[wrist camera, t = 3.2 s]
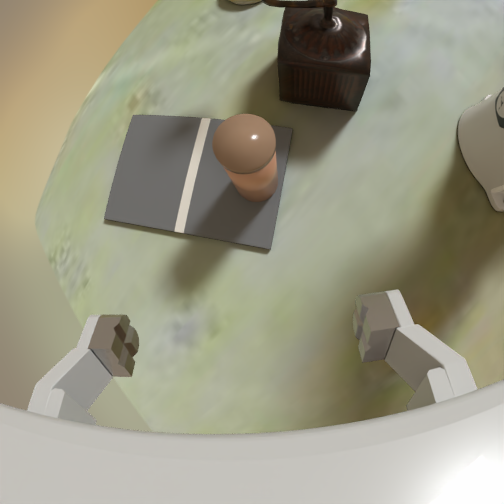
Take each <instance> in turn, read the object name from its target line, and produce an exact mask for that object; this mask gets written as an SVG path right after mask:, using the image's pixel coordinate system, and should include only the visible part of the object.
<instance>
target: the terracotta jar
mask: <svg viewBox="0 0 504 504" xmlns="http://www.w3.org/2000/svg"><path fill="white" fill-rule="evenodd" d="M212 147H213V152H214V154H215V156H216V158H217V160H218V161H219V163H220V164H221V165H222V166H223V167H224V169H225V170H226V172H227V174H228V175H229V177H230V179H231V180H232V182H233V184H234V186H235V187H236V189H237V191H238V192H239V194H240V195H241V196H242V197H243V198H245V199H246V200H248V201H252V202H261V201H265V200H267V199H269V198H270V197H271V196H272V195H273V194H274V193H275V191H276V189H277V187H278V171H277V161H276V151H275V150H276V139H275V134H274V131H273V129H272V127H271V126H270V124H269V123H268V122H267V121H266V120H264V119H263V118H261V117H259V116H257V115H253V114H238V115H235V116H232V117H230V118H228V119H226V120H225V121H224V122H222V123H221V124H220V125H219V127H218V128H217V130H216V131H215V133H214V136H213V141H212Z"/></svg>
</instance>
